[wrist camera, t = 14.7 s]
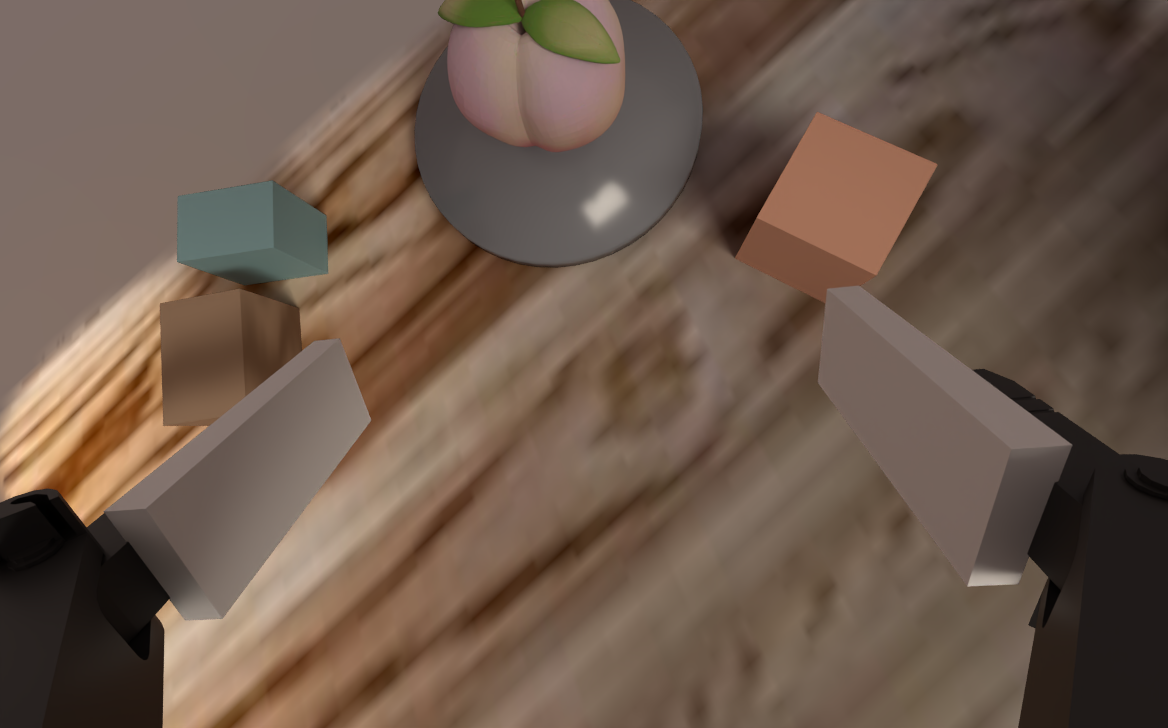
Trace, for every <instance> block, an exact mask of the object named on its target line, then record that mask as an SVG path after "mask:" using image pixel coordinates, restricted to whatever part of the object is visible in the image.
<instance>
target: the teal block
mask: <svg viewBox="0 0 1168 728" xmlns="http://www.w3.org/2000/svg"><path fill="white" fill-rule="evenodd" d="M177 224H178V225H177V226H178V227H177V262H179V263H182V264H185V265H187V266H190V267H193V268H196V269H199V270H202V271H205V272H208V273H210V274H213V275H216V276H219V277H222V278H225V279H228V280H231V281H233V282H236V283H239V284H242V285H251V284H258V283H265V282H272V281H279V280H286V279H293V278H300V277H307V276H315V275H322V274H328V251H327V221H326V215H324V214H323V213H321V212H320V211H318V210H317V209H315V208H314V207H312V206H311V205H309V204H308V203H306V202H305V201H303V200H301V199H300V198H298V197H297V196H295V195H294V194H292V193H291V192H289V191H288V190H286V189H285V188H283V187H282V186H280V185H279V184H277V183H276V182H274V181H267V182H261V183H254V184H248V185H242V186H236V187H230V188H224V189H218V190H212V191H206V192H200V193H195V194H188V195H182V196H178V222H177Z"/></svg>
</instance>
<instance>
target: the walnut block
mask: <svg viewBox="0 0 1168 728" xmlns="http://www.w3.org/2000/svg"><path fill="white" fill-rule="evenodd" d="M160 325H161V359H162V393H163V426H210V425H211V424H212V423H214V422H215V421H216V420H217V419H219V418H220V417H221V416H222V415H224V414H225V413H226V412H227V411H228V410H230V409H231V408H232V407H233V406H235V405H236V404H237V403H238V402H240V401H241V400H242V399H243V398H245V397H246V396H247V395H248V394H249V393H251V392H252V391H253V390H254V389H256V388H257V387H258V386H259V385H261V384H262V383H263V382H264V381H266V380H267V379H268V378H269V377H270V376H272V375H273V374H274V373H275V372H277V371H278V370H279V369H280V368H282V367H283V366H284V365H285V364H286V363H288V362H289V361H290V360H291V359H293V358H294V357H295V356H296V355H298V354H299V353H300V352H301V351H302V343H301V329H300V314H299V308H297V307H294V306H291V305H288V304H285V303H282V302H279V301H276V300H273V299H270V298H267V297H264V296H261V295H258V294H255V293H252V292H249V291H246V290H243V289H234V290H229V291H224V292H218V293H213V294H208V295H203V296H197V297H192V298H187V299H181V300H176V301H171V302H165V303H160Z"/></svg>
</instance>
